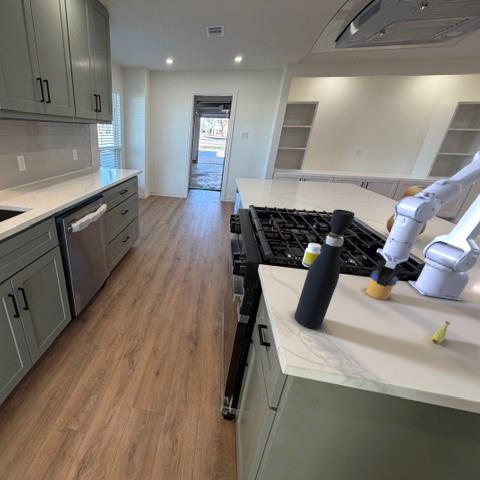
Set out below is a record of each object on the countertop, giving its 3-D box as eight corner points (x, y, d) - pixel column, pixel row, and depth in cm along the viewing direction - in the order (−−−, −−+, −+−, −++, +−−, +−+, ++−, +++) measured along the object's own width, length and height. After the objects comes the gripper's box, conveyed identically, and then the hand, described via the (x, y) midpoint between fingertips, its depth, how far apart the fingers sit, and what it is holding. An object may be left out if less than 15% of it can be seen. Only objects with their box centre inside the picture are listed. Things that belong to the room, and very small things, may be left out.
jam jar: (382, 291, 80) (390, 273, 78) (391, 301, 76) (400, 283, 73) (362, 288, 82) (369, 271, 79) (370, 297, 77) (378, 280, 74)
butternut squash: (411, 245, 115) (437, 191, 105) (377, 235, 126) (397, 184, 115) (423, 240, 121) (449, 188, 111) (390, 230, 132) (410, 182, 122)
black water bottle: (289, 312, 69) (320, 207, 57) (311, 312, 70) (346, 207, 58) (303, 329, 64) (341, 216, 52) (327, 328, 64) (370, 216, 52)
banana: (436, 331, 64) (443, 319, 63) (445, 336, 63) (453, 323, 61) (426, 344, 60) (434, 332, 58) (436, 350, 59) (445, 336, 57)
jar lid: (385, 275, 79) (387, 270, 79) (401, 286, 74) (403, 281, 73) (365, 274, 79) (367, 269, 79) (380, 285, 74) (383, 280, 73)
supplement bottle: (318, 269, 92) (324, 248, 89) (304, 267, 93) (310, 246, 90) (313, 262, 97) (319, 243, 93) (300, 261, 97) (305, 241, 94)
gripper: (386, 229, 79) (370, 267, 84) (379, 242, 69) (362, 284, 75) (417, 236, 74) (398, 276, 79) (414, 250, 65) (393, 294, 70)
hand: (382, 280), depth 77 cm, fingers closed on jar lid, 6 cm apart
